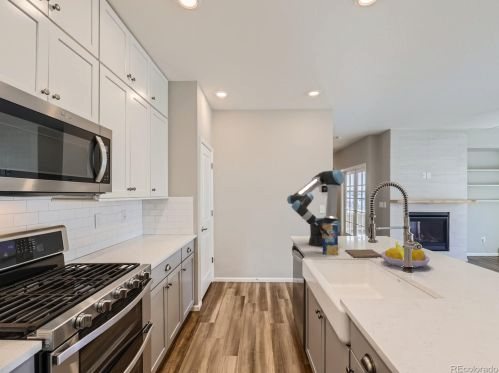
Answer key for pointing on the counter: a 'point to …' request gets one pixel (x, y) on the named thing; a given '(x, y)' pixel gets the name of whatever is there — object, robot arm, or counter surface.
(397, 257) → the fruit bowl
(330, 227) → the blue cardboard box
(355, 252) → the walnut board
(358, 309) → the counter surface
